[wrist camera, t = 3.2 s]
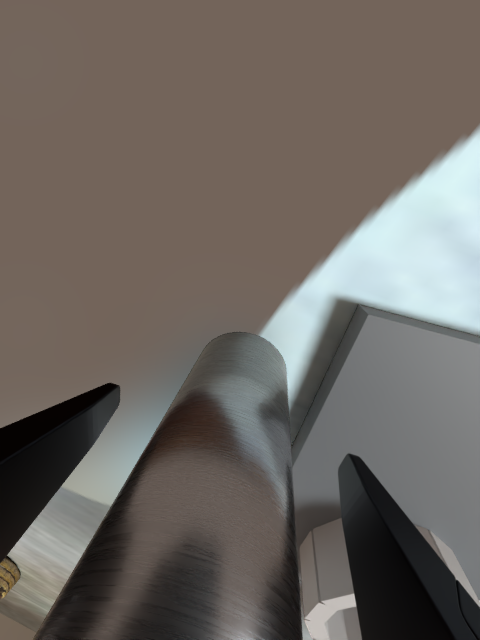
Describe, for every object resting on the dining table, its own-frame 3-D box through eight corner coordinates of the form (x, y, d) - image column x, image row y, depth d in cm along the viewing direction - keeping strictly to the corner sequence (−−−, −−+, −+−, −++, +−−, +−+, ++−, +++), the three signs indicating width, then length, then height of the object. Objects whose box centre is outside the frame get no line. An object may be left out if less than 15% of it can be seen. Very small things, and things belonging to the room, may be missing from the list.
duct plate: (429, 600, 17) (472, 707, 14) (247, 542, 18) (239, 628, 14) (704, 396, 9) (1002, 516, 6) (358, 304, 10) (409, 355, 6)
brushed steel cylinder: (206, 321, 11) (-87, 724, 2) (298, 346, 11) (396, 909, 2) (183, 443, 15) (33, 794, 6) (253, 464, 15) (213, 862, 6)
